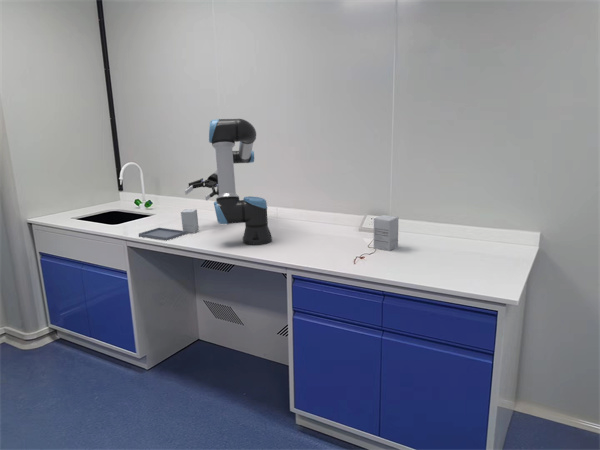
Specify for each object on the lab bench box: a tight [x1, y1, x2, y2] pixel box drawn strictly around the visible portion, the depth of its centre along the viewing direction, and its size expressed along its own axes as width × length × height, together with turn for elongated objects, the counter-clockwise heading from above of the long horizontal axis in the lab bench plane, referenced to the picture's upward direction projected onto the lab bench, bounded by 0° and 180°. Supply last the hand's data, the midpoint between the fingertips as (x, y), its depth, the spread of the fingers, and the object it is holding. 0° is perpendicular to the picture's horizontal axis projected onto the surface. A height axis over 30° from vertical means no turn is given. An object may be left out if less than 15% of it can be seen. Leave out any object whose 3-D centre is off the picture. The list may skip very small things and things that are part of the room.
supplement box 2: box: [373, 214, 399, 252], centre depth 204 cm, size 9×9×15 cm
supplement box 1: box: [180, 208, 200, 234], centre depth 246 cm, size 7×7×13 cm
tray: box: [138, 227, 188, 242], centre depth 241 cm, size 22×15×2 cm
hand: (195, 195), depth 240 cm, fingers open, 13 cm apart
